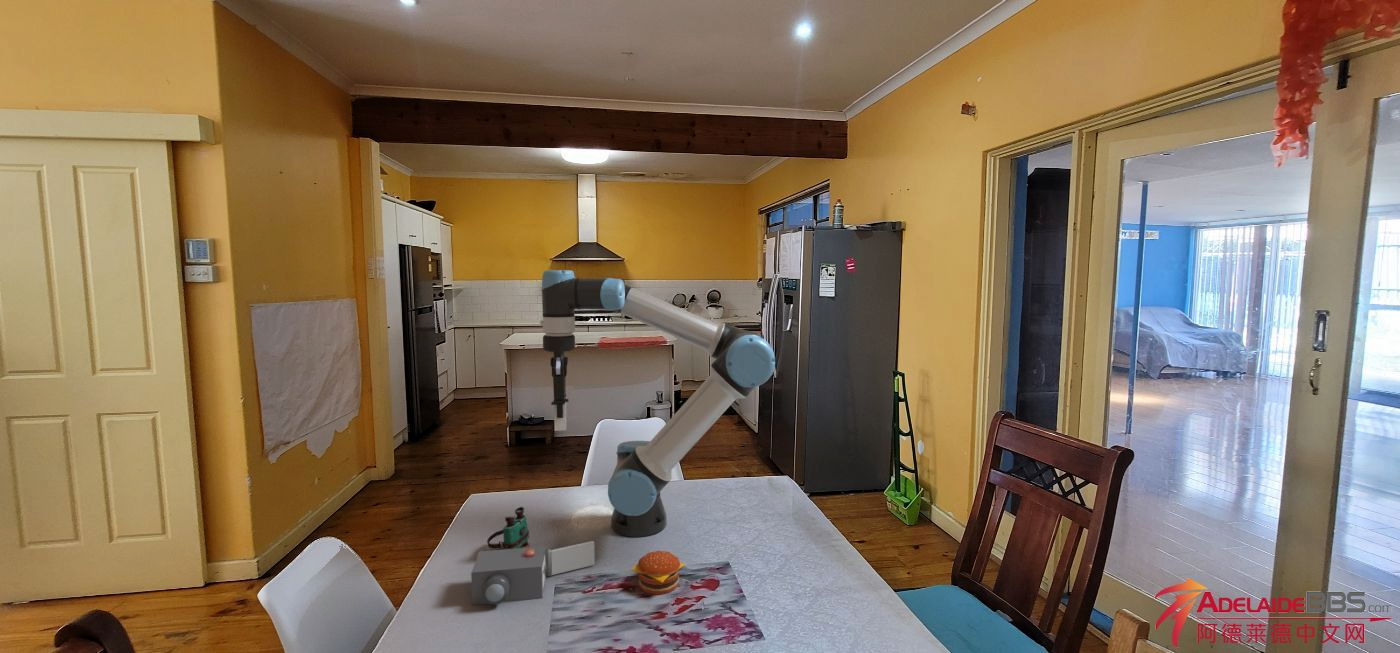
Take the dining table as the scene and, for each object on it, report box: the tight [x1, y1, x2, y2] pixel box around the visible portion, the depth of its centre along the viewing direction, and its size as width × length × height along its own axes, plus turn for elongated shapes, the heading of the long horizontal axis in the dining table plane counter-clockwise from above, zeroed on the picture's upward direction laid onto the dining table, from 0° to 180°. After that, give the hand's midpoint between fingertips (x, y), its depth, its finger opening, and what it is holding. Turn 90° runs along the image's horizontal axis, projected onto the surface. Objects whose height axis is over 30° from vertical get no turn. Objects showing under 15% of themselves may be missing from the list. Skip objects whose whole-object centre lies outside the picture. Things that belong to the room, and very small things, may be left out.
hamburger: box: [631, 550, 687, 595], centre depth 124 cm, size 9×10×7 cm
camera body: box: [470, 545, 547, 605], centre depth 120 cm, size 14×12×8 cm
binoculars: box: [486, 506, 531, 550], centre depth 137 cm, size 9×11×10 cm
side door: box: [545, 540, 596, 577], centre depth 129 cm, size 1×11×6 cm, turn 118°
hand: (560, 429), depth 137 cm, fingers closed
